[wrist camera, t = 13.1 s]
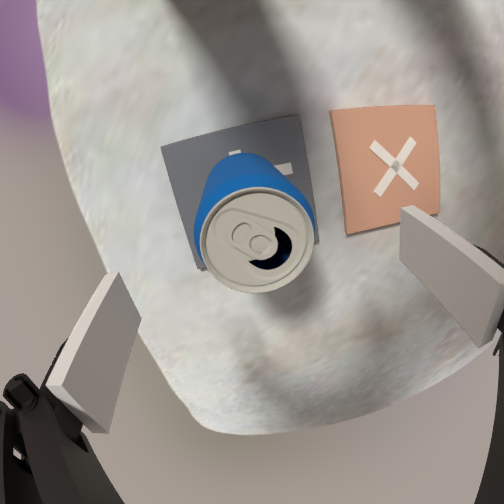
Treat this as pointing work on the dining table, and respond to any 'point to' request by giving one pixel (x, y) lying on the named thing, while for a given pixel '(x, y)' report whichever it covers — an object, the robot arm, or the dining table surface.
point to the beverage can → (253, 225)
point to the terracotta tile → (386, 163)
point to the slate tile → (228, 143)
